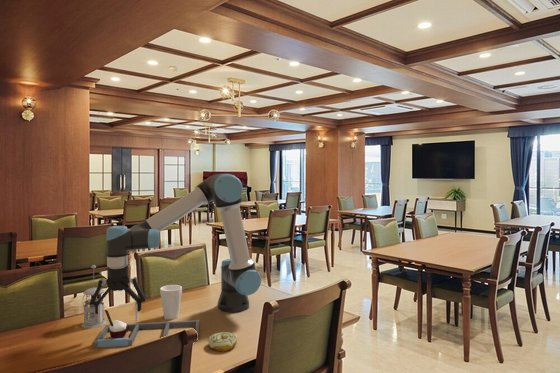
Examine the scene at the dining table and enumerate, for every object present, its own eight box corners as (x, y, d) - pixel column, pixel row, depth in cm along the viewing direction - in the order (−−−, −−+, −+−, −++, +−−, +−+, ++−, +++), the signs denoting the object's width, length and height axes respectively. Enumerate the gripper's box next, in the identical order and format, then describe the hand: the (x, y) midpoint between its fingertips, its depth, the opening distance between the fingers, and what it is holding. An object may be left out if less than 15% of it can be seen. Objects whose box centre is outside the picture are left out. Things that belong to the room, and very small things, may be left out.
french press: (90, 330, 162) (89, 269, 161) (73, 324, 168) (73, 265, 168) (111, 322, 171) (111, 264, 170) (95, 317, 177) (94, 261, 176)
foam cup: (176, 321, 172) (176, 291, 172) (156, 319, 174) (156, 290, 174) (185, 313, 182) (185, 285, 181) (166, 312, 183) (166, 284, 183)
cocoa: (128, 333, 160) (129, 303, 160) (130, 339, 154) (131, 307, 155) (102, 337, 155) (103, 306, 155) (104, 343, 150) (105, 310, 150)
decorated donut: (207, 353, 143) (207, 342, 143) (210, 340, 154) (210, 330, 154) (236, 352, 144) (236, 341, 144) (237, 339, 155) (237, 330, 154)
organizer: (199, 324, 169) (199, 319, 169) (197, 341, 152) (197, 334, 152) (106, 329, 163) (106, 323, 162) (94, 347, 146) (94, 341, 146)
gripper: (152, 262, 160) (153, 315, 161) (86, 265, 156) (87, 319, 157) (149, 267, 152) (150, 322, 153) (79, 270, 148) (81, 326, 149)
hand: (118, 320), depth 155 cm, fingers open, 13 cm apart
